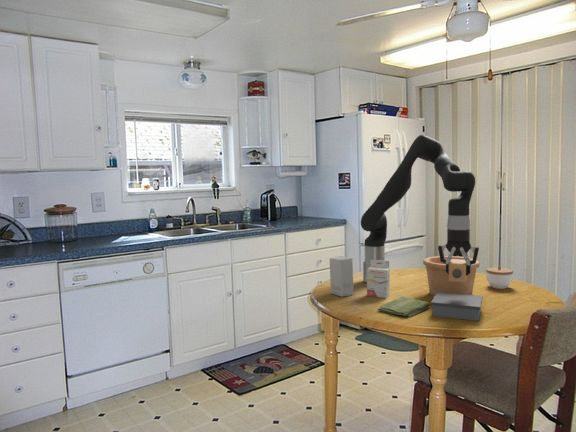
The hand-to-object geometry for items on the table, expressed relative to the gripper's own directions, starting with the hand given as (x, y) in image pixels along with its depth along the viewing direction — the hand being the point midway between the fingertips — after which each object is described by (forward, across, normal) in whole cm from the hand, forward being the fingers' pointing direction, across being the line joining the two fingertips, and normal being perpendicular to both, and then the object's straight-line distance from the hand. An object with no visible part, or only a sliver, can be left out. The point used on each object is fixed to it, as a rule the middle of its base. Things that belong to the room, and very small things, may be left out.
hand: (457, 274), depth 164 cm
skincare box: (+14, +47, -9) cm, 50 cm away
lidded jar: (+14, -13, -46) cm, 50 cm away
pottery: (+14, +5, -25) cm, 29 cm away
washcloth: (+15, +18, +4) cm, 24 cm away
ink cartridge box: (+14, +32, -12) cm, 37 cm away
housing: (+2, 0, -1) cm, 2 cm away
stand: (+14, 0, 0) cm, 14 cm away
